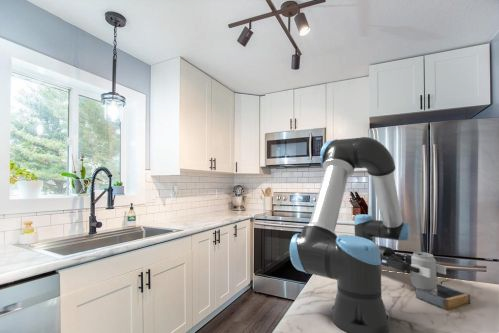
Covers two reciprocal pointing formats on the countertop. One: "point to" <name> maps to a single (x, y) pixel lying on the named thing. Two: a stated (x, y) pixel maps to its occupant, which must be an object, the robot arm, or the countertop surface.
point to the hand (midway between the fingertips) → (437, 271)
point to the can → (426, 262)
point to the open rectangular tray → (444, 297)
